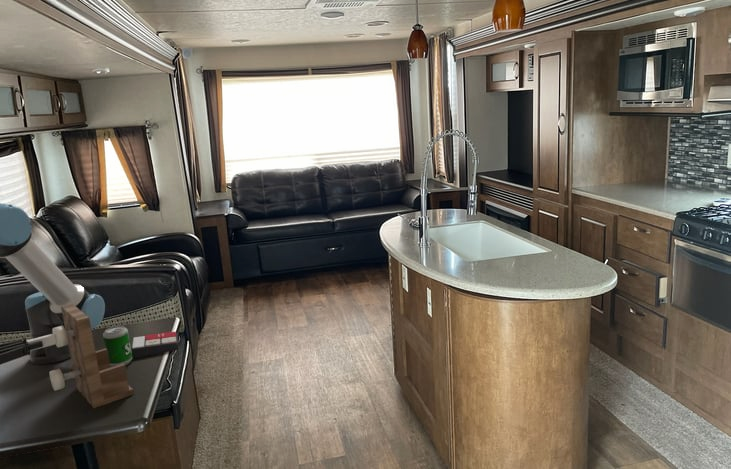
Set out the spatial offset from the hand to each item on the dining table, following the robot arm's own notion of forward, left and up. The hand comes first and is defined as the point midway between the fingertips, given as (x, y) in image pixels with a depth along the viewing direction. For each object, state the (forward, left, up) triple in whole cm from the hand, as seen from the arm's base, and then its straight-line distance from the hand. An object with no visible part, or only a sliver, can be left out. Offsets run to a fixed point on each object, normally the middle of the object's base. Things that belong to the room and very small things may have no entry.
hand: (54, 338), depth 158 cm
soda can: (-17, +20, -20) cm, 33 cm away
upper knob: (0, +4, -3) cm, 5 cm away
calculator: (-21, +33, -21) cm, 44 cm away
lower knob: (0, +2, -15) cm, 15 cm away
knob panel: (0, +10, -20) cm, 22 cm away
